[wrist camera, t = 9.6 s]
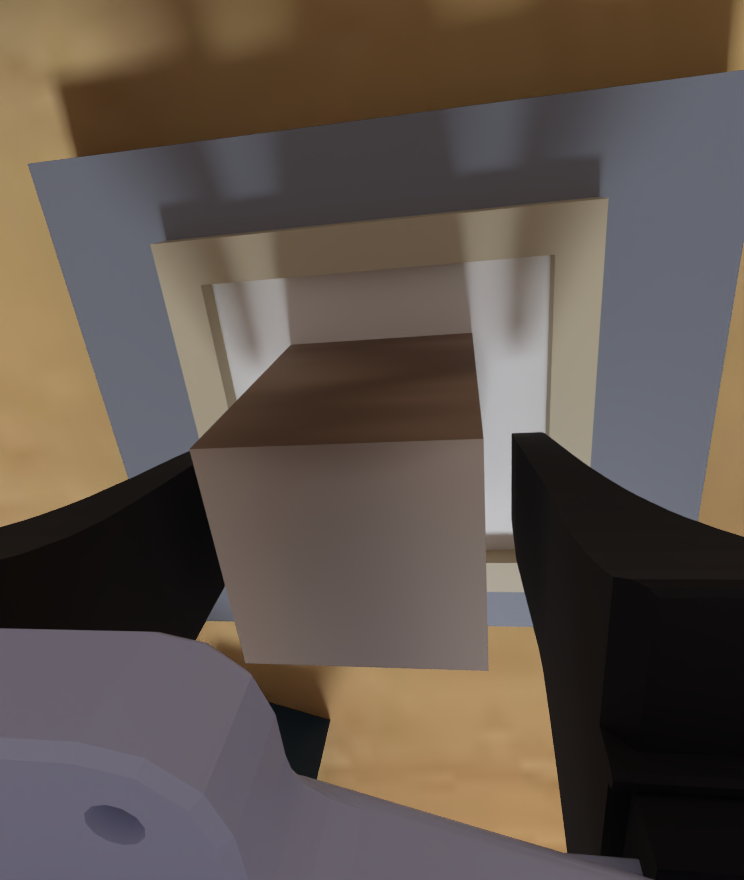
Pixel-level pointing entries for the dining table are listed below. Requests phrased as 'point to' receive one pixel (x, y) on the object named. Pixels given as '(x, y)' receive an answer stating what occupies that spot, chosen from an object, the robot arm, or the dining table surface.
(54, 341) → the dining table surface
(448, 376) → the walnut block
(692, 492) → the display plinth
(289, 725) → the watch
